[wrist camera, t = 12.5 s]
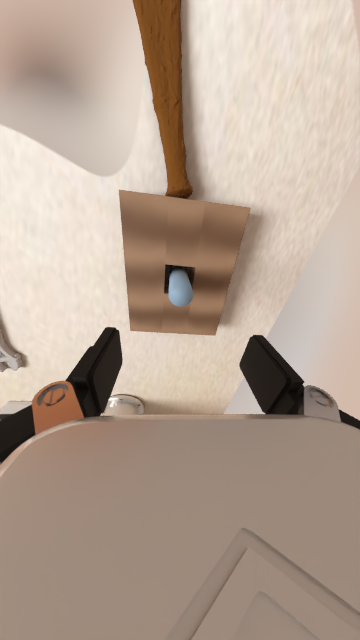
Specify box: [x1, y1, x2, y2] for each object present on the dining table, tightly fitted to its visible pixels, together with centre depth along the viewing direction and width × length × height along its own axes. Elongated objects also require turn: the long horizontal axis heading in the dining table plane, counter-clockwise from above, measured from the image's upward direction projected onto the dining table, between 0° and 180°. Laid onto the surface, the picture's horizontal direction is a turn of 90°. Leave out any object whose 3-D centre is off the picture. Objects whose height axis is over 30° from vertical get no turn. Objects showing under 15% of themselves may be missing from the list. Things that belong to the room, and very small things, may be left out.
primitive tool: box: [133, 0, 193, 199], centre depth 15 cm, size 19×6×4 cm, turn 11°
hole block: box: [119, 190, 250, 335], centre depth 25 cm, size 20×16×4 cm
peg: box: [169, 265, 193, 307], centre depth 22 cm, size 3×3×10 cm
